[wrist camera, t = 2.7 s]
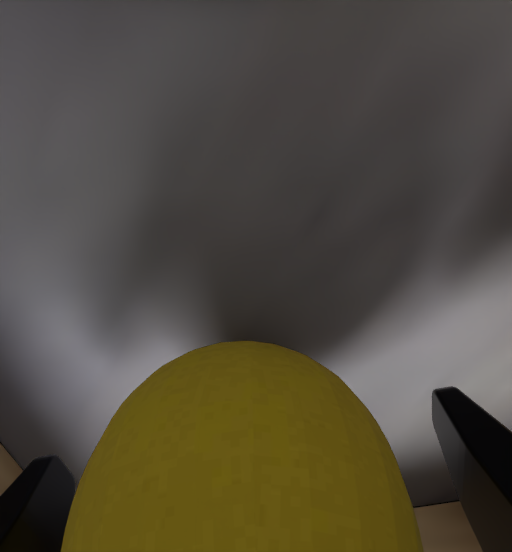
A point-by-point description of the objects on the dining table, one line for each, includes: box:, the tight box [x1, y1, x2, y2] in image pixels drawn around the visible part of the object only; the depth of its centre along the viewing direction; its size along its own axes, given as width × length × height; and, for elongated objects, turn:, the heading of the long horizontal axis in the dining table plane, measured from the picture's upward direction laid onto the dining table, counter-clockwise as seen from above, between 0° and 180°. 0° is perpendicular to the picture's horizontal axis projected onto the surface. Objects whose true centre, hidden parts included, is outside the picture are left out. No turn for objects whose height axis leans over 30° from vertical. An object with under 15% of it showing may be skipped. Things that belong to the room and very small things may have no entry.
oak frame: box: [0, 444, 483, 552], centre depth 10 cm, size 16×14×4 cm
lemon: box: [61, 341, 424, 552], centre depth 7 cm, size 6×6×8 cm
